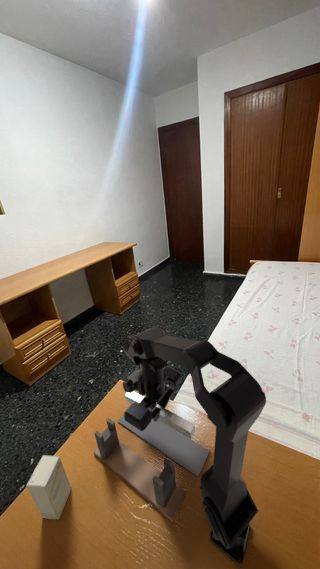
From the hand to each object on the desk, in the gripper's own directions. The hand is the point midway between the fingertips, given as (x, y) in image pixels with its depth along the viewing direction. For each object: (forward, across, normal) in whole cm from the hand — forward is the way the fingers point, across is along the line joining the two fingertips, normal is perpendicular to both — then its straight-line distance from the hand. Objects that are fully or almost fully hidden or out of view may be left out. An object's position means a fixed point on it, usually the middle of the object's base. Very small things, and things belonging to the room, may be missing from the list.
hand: (158, 416), depth 64 cm
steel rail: (-1, 0, 0) cm, 1 cm away
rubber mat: (+8, 0, 0) cm, 8 cm away
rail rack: (+8, +11, 0) cm, 14 cm away
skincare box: (+8, +26, -12) cm, 30 cm away
